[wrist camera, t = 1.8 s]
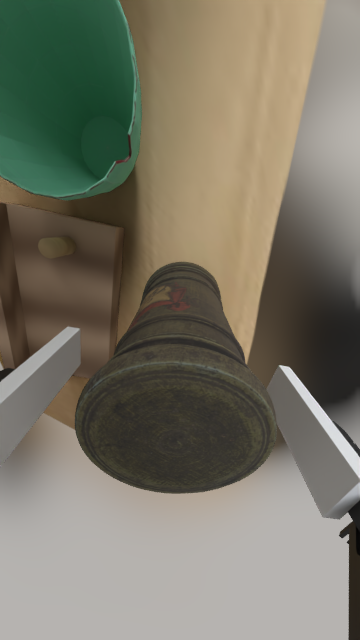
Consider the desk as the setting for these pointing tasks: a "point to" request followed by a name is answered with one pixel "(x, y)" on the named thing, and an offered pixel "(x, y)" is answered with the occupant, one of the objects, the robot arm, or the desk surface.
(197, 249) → the desk surface
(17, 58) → the mug
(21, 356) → the ledge
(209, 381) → the container
